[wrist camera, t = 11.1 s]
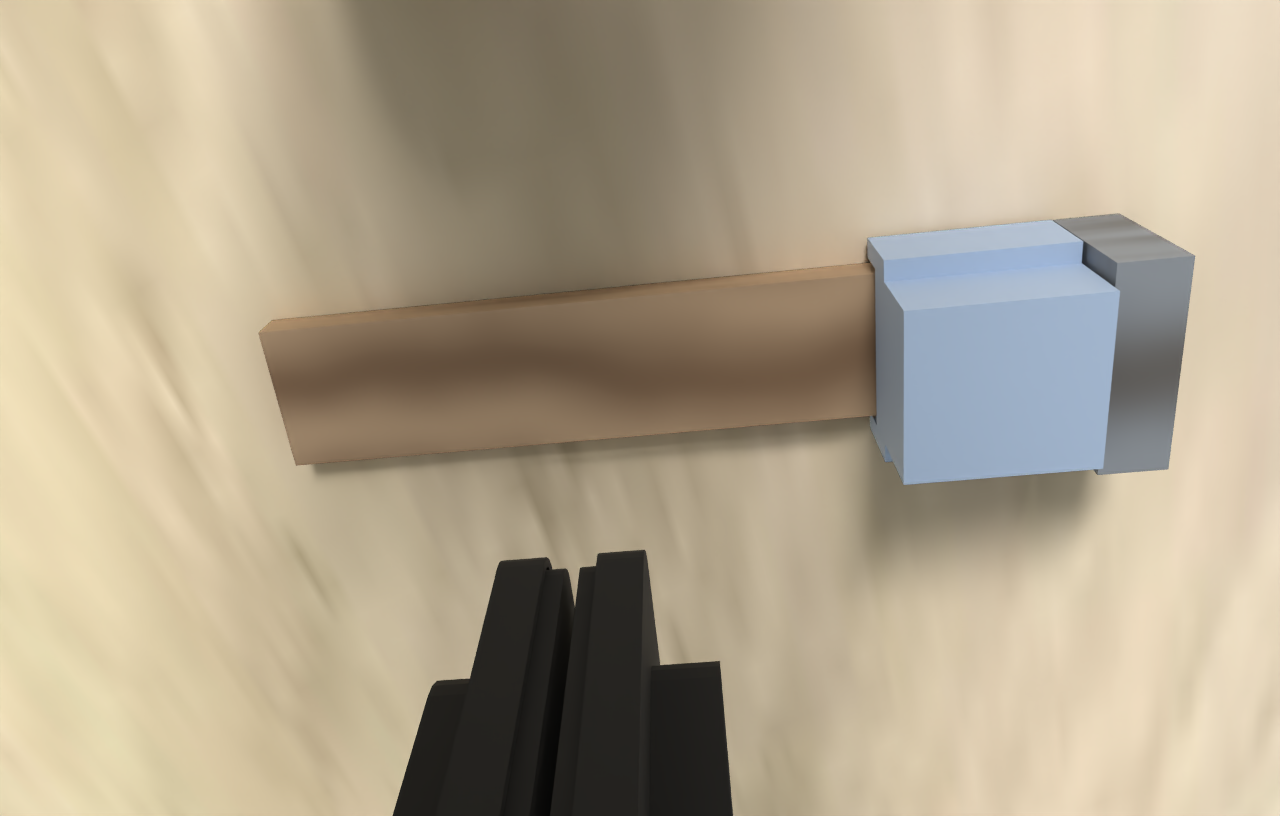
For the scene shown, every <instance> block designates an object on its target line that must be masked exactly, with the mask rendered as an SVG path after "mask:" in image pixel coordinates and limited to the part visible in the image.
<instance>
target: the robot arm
mask: <svg viewBox="0 0 1280 816" xmlns="http://www.w3.org/2000/svg"><path fill="white" fill-rule="evenodd" d="M393 816H733V811H732V799H731V787H730V775H729V763H728V751H727V739H726V727H725V716H724V704H723V693H722V682H721V670H720V661H715V662H701V663H687V664H672V665H660V660H659V651H658V643H657V635H656V627H655V619H654V610H653V602H652V594H651V586H650V578H649V569H648V562H647V555H646V551H645V550H636V551H623V552H610V553H599V554H598V556H597V563H596V566H593V567H581V568H580V572H579V580H578V588H577V596H576V605H575V606H574V600H573V594H572V588H571V582H570V577H569V573H568V570H567V569H554V570H552V566H551V563H550V560H549V559H548V558H547V557H545V558H532V559H519V560H506V561H501V562H499V565H498V568H497V571H496V575H495V579H494V583H493V588H492V592H491V596H490V600H489V604H488V608H487V612H486V616H485V620H484V624H483V628H482V632H481V636H480V640H479V644H478V648H477V652H476V656H475V660H474V664H473V668H472V672H471V676H470V679H457V680H442V681H437V682H436V683H435V684H434V685H433V686H432V688H431V690H430V693H429V695H428V698H427V701H426V705H425V708H424V711H423V715H422V718H421V722H420V725H419V728H418V732H417V735H416V738H415V742H414V745H413V749H412V752H411V755H410V759H409V762H408V765H407V769H406V772H405V776H404V779H403V782H402V786H401V789H400V793H399V796H398V799H397V803H396V806H395V809H394V813H393Z"/></svg>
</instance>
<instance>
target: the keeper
mask: <svg viewBox="0 0 1280 816" xmlns="http://www.w3.org/2000/svg"><path fill="white" fill-rule="evenodd" d="M867 245H868V259H869V260H870V262H871V263H872V265H873V266H874V268H875V315H876V411H877V416H870V428H871V431H872V433H873V435H874V438H875V440H876V442H877V445H878V447H879V449H880V451H881V454H882V456H883V458H884V461H885V462H893V463H894V465H895V467H896V469H897V471H898V474H899V476H900V478H901V480H902V483H903V485H909V484H921V483H933V482H946V481H958V480H970V479H983V478H995V477H1007V476H1019V475H1032V474H1044V473H1056V472H1069V471H1081V470H1093V469H1103V465H1104V454H1105V444H1106V434H1107V423H1108V413H1109V402H1110V392H1111V381H1112V371H1113V360H1114V350H1115V339H1116V329H1117V319H1118V308H1119V298H1120V291H1119V290H1118V289H1117V288H1115V287H1114V286H1112V285H1111V284H1110V283H1108V282H1107V281H1106V280H1104V279H1103V278H1101V277H1100V276H1099V275H1097V274H1096V273H1095V272H1093V271H1092V270H1090V269H1089V268H1088V267H1086V266H1085V265H1083V264H1082V250H1083V241H1082V240H1081V239H1079V238H1078V237H1076V236H1075V235H1073V234H1072V233H1070V232H1069V231H1067V230H1066V229H1064V228H1063V227H1061V226H1060V225H1058V224H1057V223H1055V222H1054V221H1052V220H1044V221H1034V222H1024V223H1014V224H1004V225H993V226H983V227H973V228H963V229H953V230H942V231H932V232H922V233H912V234H902V235H891V236H881V237H871V238H867Z"/></svg>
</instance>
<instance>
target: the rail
mask: <svg viewBox="0 0 1280 816" xmlns="http://www.w3.org/2000/svg"><path fill="white" fill-rule="evenodd" d="M1053 221H1054V222H1055V223H1057V224H1058V225H1060V226H1061V227H1063V228H1064V229H1066V230H1067V231H1069V232H1070V233H1072V234H1073V235H1075V236H1076V237H1078V238H1079V239H1081V240H1082V241H1083V250H1082V264H1083V265H1085V266H1086V267H1088V268H1089V269H1090V270H1092V271H1093V272H1095V273H1096V274H1097V275H1099V276H1100V277H1101V278H1103V279H1104V280H1106V281H1107V282H1108V283H1110V284H1111V285H1112V286H1114V287H1115V288H1117V289H1118V290H1119V291H1120V298H1119V308H1118V319H1117V329H1116V339H1115V350H1114V360H1113V371H1112V381H1111V392H1110V402H1109V413H1108V423H1107V434H1106V444H1105V454H1104V465H1103V469H1093V470H1094V471H1095V472H1096V474H1097V475H1103V474H1116V473H1128V472H1140V471H1153V470H1165V469H1168V467H1169V459H1170V451H1171V443H1172V435H1173V427H1174V419H1175V411H1176V403H1177V395H1178V388H1179V380H1180V372H1181V364H1182V356H1183V348H1184V340H1185V332H1186V324H1187V316H1188V308H1189V300H1190V292H1191V285H1192V277H1193V269H1194V261H1195V255H1193V254H1191V253H1189V252H1188V251H1186V250H1184V249H1182V248H1180V247H1179V246H1177V245H1175V244H1173V243H1171V242H1169V241H1168V240H1166V239H1164V238H1162V237H1160V236H1159V235H1157V234H1155V233H1153V232H1151V231H1150V230H1148V229H1146V228H1144V227H1142V226H1141V225H1139V224H1137V223H1135V222H1133V221H1132V220H1130V219H1128V218H1126V217H1124V216H1123V215H1121V214H1110V215H1100V216H1089V217H1079V218H1069V219H1059V220H1053ZM259 336H260V340H261V344H262V347H263V351H264V354H265V358H266V361H267V365H268V368H269V372H270V375H271V379H272V382H273V386H274V390H275V393H276V397H277V400H278V404H279V407H280V411H281V414H282V418H283V421H284V425H285V428H286V432H287V436H288V439H289V443H290V446H291V450H292V453H293V457H294V460H295V464H296V465H307V464H319V463H330V462H342V461H354V460H365V459H377V458H389V457H400V456H412V455H423V454H435V453H447V452H458V451H470V450H482V449H493V448H505V447H516V446H528V445H540V444H551V443H563V442H575V441H586V440H598V439H609V438H621V437H633V436H644V435H656V434H667V433H679V432H691V431H702V430H714V429H726V428H737V427H749V426H760V425H772V424H784V423H795V422H807V421H819V420H830V419H842V418H853V417H865V416H877V411H876V315H875V268H874V266H873V265H872V263H862V264H851V265H841V266H830V267H820V268H810V269H799V270H789V271H779V272H768V273H758V274H747V275H737V276H727V277H716V278H706V279H696V280H685V281H675V282H665V283H654V284H644V285H633V286H623V287H613V288H602V289H592V290H582V291H571V292H561V293H550V294H540V295H530V296H519V297H509V298H499V299H488V300H478V301H467V302H457V303H447V304H436V305H426V306H416V307H405V308H395V309H384V310H374V311H364V312H353V313H343V314H333V315H322V316H312V317H301V318H291V319H281V320H272V321H271V322H270V323H269V324H268V325H266V326H265V327H264V328H263V329H262V330H261V331H260V332H259Z"/></svg>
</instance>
